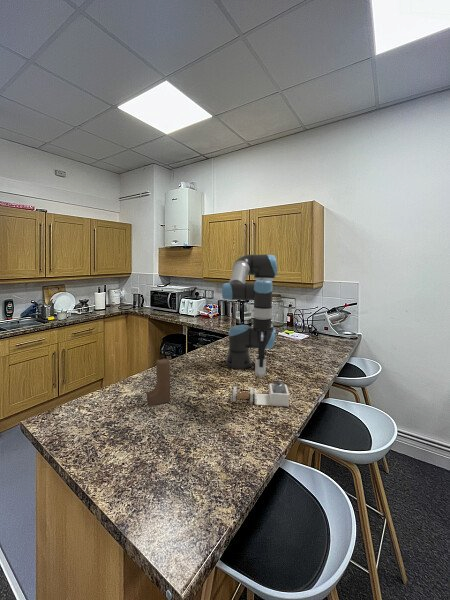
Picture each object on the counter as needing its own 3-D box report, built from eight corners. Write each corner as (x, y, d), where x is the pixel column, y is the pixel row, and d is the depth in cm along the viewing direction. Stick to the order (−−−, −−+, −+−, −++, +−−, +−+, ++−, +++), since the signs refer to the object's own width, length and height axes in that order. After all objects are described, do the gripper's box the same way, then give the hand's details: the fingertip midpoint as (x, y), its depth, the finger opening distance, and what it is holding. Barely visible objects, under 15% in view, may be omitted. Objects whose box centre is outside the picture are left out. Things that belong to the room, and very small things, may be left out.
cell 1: (255, 372, 122) (255, 354, 122) (265, 373, 122) (266, 355, 121) (254, 376, 118) (255, 358, 117) (265, 377, 118) (265, 358, 117)
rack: (254, 396, 127) (254, 382, 126) (285, 398, 126) (286, 384, 125) (254, 407, 117) (254, 392, 116) (288, 409, 116) (289, 394, 115)
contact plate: (236, 397, 125) (237, 392, 125) (249, 398, 125) (249, 392, 124) (236, 400, 122) (236, 395, 122) (249, 401, 121) (249, 396, 121)
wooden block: (149, 407, 116) (148, 365, 114) (146, 402, 120) (145, 361, 118) (170, 401, 121) (169, 361, 119) (166, 397, 125) (166, 358, 123)
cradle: (233, 394, 128) (233, 386, 128) (252, 395, 127) (252, 387, 127) (232, 404, 119) (232, 395, 119) (252, 405, 119) (253, 396, 118)
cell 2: (273, 397, 123) (273, 379, 122) (283, 397, 123) (283, 380, 122) (273, 402, 119) (274, 384, 118) (284, 402, 118) (285, 384, 117)
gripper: (253, 313, 126) (252, 364, 129) (252, 321, 109) (251, 379, 112) (270, 314, 125) (268, 365, 128) (272, 322, 108) (270, 380, 111)
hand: (260, 371), depth 120 cm, fingers closed on cell 1, 4 cm apart
